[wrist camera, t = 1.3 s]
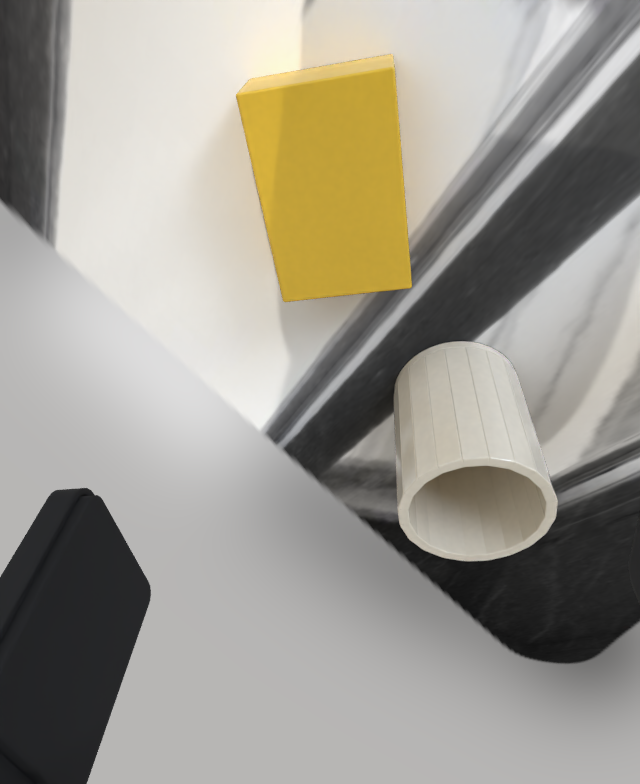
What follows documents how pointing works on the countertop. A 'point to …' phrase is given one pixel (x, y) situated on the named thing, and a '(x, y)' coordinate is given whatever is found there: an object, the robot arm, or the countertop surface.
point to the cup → (468, 456)
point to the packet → (330, 177)
